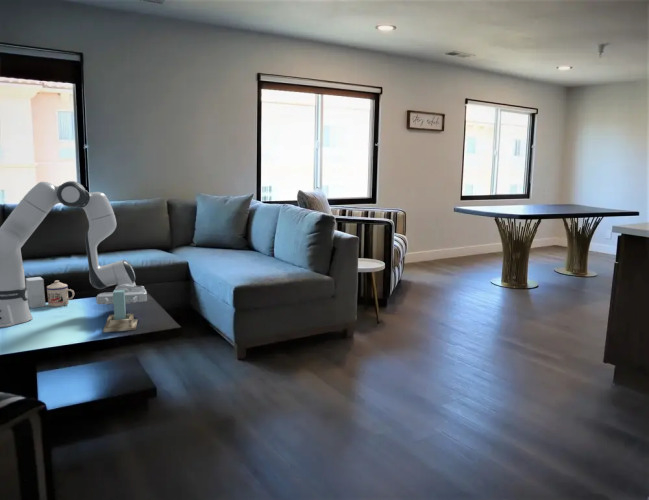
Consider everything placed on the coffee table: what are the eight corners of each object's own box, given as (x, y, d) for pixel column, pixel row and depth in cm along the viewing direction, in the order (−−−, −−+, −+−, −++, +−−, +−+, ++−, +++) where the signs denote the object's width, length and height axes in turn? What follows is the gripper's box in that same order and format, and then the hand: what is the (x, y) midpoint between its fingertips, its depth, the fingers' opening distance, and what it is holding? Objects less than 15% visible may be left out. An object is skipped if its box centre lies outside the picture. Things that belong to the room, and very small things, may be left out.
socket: (103, 332, 202) (102, 322, 201) (107, 323, 213) (106, 314, 212) (135, 329, 205) (134, 320, 204) (137, 321, 216) (137, 312, 216)
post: (115, 326, 206) (112, 292, 204) (116, 323, 210) (114, 290, 208) (125, 325, 207) (123, 291, 205) (126, 322, 211) (124, 289, 209)
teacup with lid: (44, 307, 238) (42, 282, 236) (52, 302, 247) (50, 278, 245) (71, 306, 239) (69, 282, 238) (78, 301, 248) (76, 278, 247)
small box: (46, 306, 240) (43, 279, 238) (30, 308, 236) (28, 281, 234) (42, 302, 246) (40, 276, 244) (27, 304, 242) (25, 278, 240)
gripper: (98, 288, 221) (92, 296, 208) (147, 285, 227) (145, 292, 213) (99, 302, 222) (93, 310, 209) (148, 299, 227) (146, 307, 214)
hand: (120, 301), depth 211 cm, fingers open, 8 cm apart
